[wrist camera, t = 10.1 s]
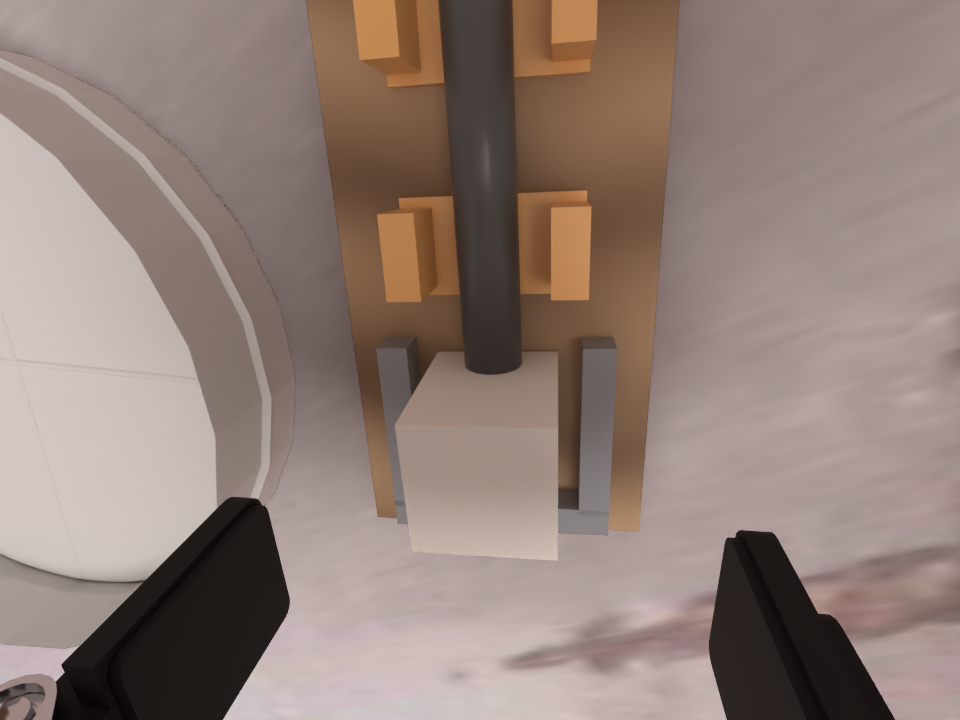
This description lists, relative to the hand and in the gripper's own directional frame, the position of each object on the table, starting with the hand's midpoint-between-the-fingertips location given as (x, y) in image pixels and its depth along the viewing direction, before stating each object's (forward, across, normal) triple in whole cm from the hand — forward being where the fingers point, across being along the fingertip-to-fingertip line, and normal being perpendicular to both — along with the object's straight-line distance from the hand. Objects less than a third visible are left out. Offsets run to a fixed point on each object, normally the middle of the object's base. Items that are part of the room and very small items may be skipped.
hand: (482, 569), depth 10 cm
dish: (+9, +20, -1) cm, 22 cm away
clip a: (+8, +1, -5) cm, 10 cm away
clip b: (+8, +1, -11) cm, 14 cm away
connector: (+8, +1, -6) cm, 10 cm away
